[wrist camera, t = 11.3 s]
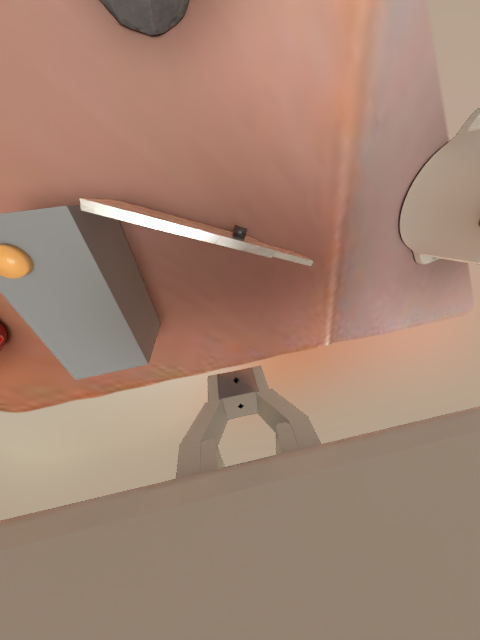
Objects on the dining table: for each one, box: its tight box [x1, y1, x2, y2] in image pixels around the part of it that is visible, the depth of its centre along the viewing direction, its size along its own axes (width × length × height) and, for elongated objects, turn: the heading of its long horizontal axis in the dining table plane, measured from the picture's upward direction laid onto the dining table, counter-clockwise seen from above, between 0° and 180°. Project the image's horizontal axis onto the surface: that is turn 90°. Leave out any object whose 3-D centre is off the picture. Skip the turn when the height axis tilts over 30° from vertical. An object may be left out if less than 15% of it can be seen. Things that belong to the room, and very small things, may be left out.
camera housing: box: [0, 205, 160, 380], centre depth 21 cm, size 8×17×10 cm, turn 6°
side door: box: [80, 198, 313, 266], centre depth 20 cm, size 2×21×8 cm, turn 74°
